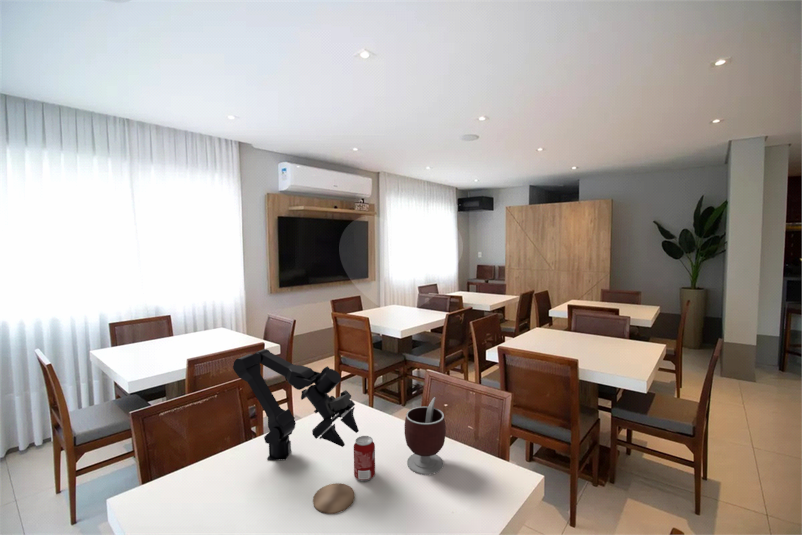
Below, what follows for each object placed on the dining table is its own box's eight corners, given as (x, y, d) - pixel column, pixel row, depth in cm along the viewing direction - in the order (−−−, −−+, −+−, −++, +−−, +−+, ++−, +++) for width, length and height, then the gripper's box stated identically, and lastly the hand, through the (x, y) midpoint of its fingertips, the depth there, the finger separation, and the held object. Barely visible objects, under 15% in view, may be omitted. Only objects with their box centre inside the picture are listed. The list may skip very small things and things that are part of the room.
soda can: (371, 484, 115) (371, 446, 114) (351, 481, 116) (350, 444, 116) (377, 471, 122) (377, 435, 121) (358, 468, 123) (357, 433, 122)
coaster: (307, 513, 103) (307, 510, 102) (319, 485, 115) (319, 482, 114) (350, 514, 102) (350, 511, 102) (357, 486, 114) (357, 483, 114)
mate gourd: (436, 481, 116) (435, 419, 115) (397, 469, 123) (396, 410, 121) (453, 456, 130) (453, 400, 128) (417, 446, 136) (417, 393, 135)
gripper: (319, 397, 112) (352, 438, 109) (349, 376, 130) (378, 412, 126) (298, 418, 116) (329, 459, 112) (330, 395, 133) (358, 430, 130)
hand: (351, 438), depth 120 cm, fingers open, 9 cm apart
